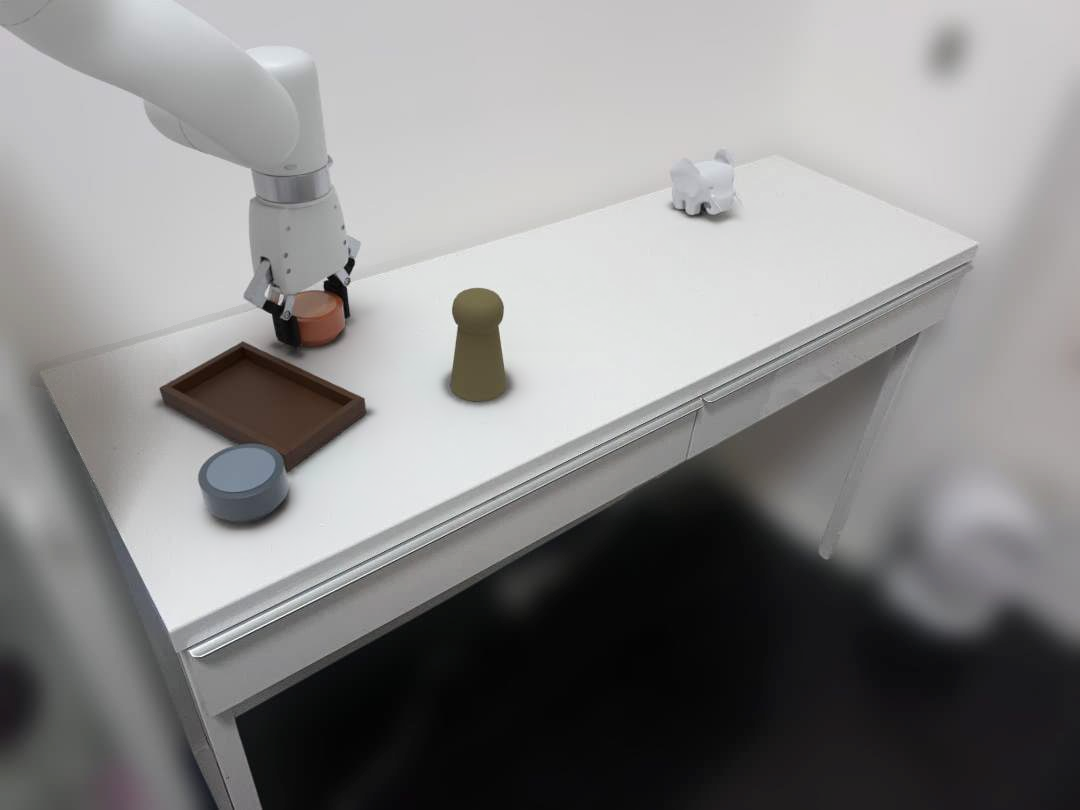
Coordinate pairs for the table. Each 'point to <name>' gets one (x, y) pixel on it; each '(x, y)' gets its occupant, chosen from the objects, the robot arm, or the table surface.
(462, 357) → the pepper shaker
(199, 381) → the tray
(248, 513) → the slate dish
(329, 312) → the terracotta dish
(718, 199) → the elephant figurine
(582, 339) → the table surface
